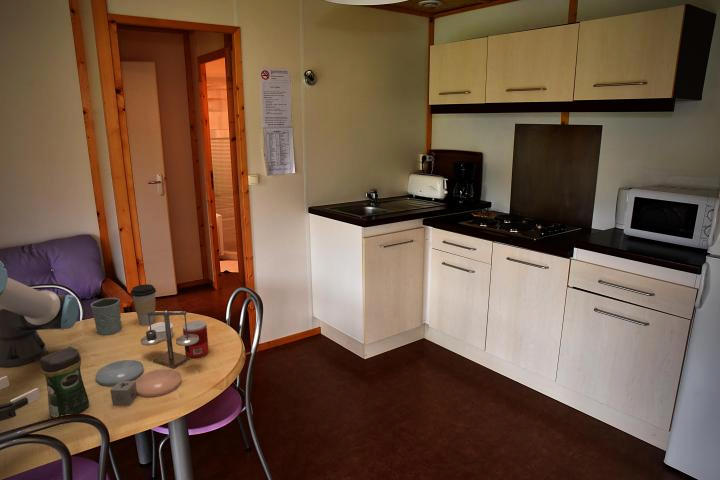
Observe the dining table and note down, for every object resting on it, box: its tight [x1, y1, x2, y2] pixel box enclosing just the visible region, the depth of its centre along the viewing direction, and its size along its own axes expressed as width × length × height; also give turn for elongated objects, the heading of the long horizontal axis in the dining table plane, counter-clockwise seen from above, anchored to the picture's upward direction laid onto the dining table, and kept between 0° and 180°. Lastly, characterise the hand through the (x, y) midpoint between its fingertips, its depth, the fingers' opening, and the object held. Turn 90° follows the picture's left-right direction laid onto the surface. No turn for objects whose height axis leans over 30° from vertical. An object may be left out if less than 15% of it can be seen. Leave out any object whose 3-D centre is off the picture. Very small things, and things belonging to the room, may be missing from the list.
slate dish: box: [95, 359, 145, 387], centre depth 160 cm, size 14×14×2 cm
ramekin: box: [147, 321, 174, 342], centre depth 186 cm, size 9×9×4 cm
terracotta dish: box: [134, 368, 182, 398], centre depth 154 cm, size 14×14×2 cm
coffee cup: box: [130, 284, 157, 326], centre depth 198 cm, size 9×9×15 cm
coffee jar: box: [39, 346, 90, 418], centre depth 138 cm, size 10×8×19 cm
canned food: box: [182, 320, 210, 359], centre depth 172 cm, size 8×8×11 cm
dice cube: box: [110, 380, 138, 406], centre depth 145 cm, size 5×5×5 cm
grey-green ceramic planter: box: [90, 297, 122, 336], centre depth 191 cm, size 10×10×12 cm
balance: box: [140, 310, 199, 370], centre depth 166 cm, size 24×7×20 cm, turn 64°
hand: (22, 386), depth 128 cm, fingers open, 13 cm apart
